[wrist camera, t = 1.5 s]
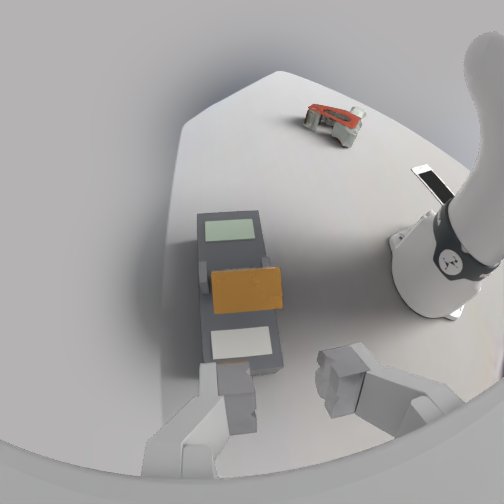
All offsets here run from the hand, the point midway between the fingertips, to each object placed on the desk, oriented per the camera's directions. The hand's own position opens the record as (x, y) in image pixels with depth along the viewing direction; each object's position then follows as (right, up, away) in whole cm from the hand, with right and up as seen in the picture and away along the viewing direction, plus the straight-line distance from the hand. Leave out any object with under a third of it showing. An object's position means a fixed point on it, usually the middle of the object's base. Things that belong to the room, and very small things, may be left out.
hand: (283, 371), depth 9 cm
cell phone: (+43, +18, +45) cm, 65 cm away
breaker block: (-3, -3, +28) cm, 28 cm away
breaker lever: (-3, +1, +22) cm, 22 cm away
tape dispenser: (+21, +33, +52) cm, 65 cm away
